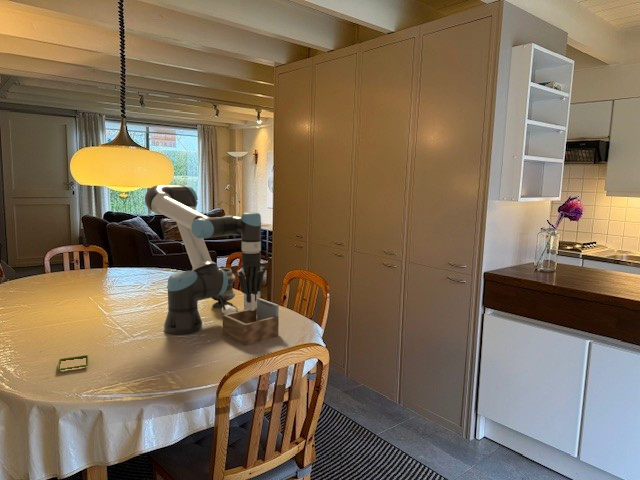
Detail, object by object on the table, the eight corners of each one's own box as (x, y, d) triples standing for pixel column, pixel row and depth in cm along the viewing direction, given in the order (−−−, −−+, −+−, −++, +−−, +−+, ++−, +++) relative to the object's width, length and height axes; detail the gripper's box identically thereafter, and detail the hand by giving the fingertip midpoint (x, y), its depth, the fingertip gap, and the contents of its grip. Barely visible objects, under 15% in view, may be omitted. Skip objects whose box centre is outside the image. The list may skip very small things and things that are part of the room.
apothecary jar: (227, 310, 209) (226, 273, 206) (205, 307, 213) (204, 271, 210) (239, 303, 220) (239, 268, 218) (218, 301, 224) (218, 266, 221)
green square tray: (88, 360, 151) (88, 354, 151) (88, 370, 143) (88, 364, 143) (59, 364, 147) (58, 359, 147) (57, 375, 139) (57, 369, 139)
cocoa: (236, 317, 200) (237, 291, 199) (240, 321, 195) (240, 294, 193) (215, 319, 196) (216, 292, 195) (218, 322, 191) (219, 295, 190)
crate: (245, 345, 166) (245, 325, 165) (222, 334, 178) (222, 315, 177) (278, 335, 177) (278, 316, 176) (255, 325, 189) (255, 307, 188)
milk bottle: (257, 314, 204) (257, 272, 201) (241, 313, 205) (241, 271, 202) (262, 309, 211) (262, 269, 208) (247, 308, 213) (247, 268, 210)
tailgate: (275, 329, 178) (275, 305, 177) (256, 321, 187) (256, 298, 186) (278, 328, 179) (278, 304, 178) (259, 320, 188) (259, 298, 187)
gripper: (242, 254, 166) (243, 315, 169) (270, 251, 175) (270, 308, 178) (231, 252, 171) (232, 310, 174) (259, 248, 180) (259, 304, 183)
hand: (251, 309), depth 176 cm, fingers closed
